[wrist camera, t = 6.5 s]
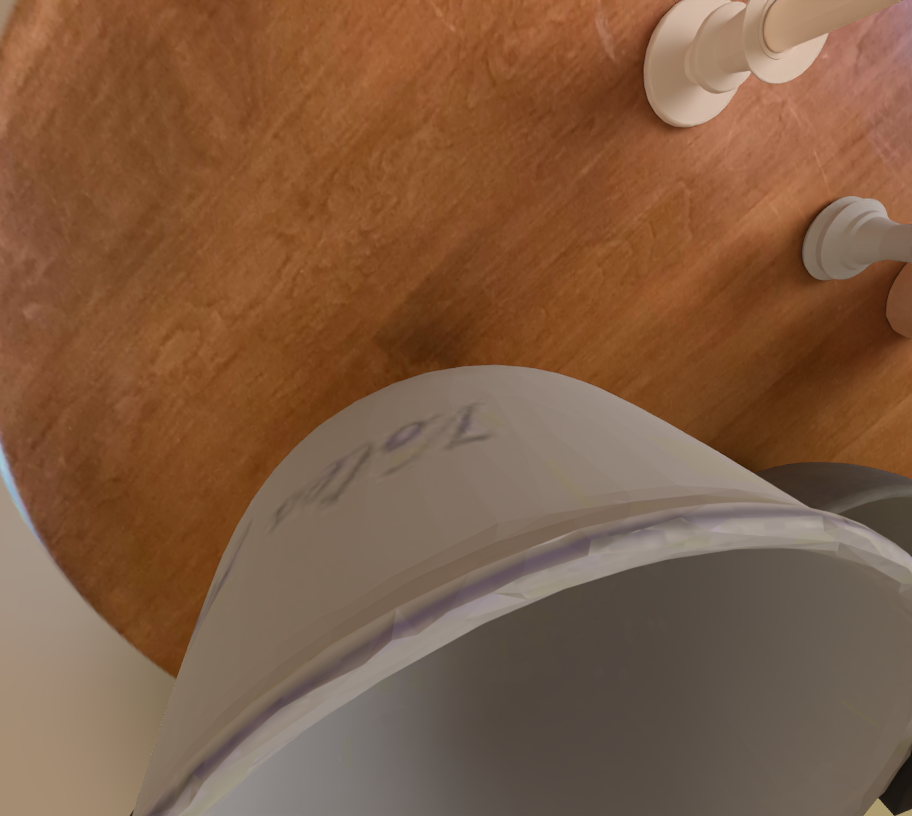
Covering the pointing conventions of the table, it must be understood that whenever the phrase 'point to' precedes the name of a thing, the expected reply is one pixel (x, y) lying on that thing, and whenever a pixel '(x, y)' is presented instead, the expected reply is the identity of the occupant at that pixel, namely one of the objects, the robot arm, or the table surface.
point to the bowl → (851, 495)
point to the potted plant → (901, 303)
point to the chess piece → (853, 239)
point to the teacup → (535, 625)
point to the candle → (736, 49)
